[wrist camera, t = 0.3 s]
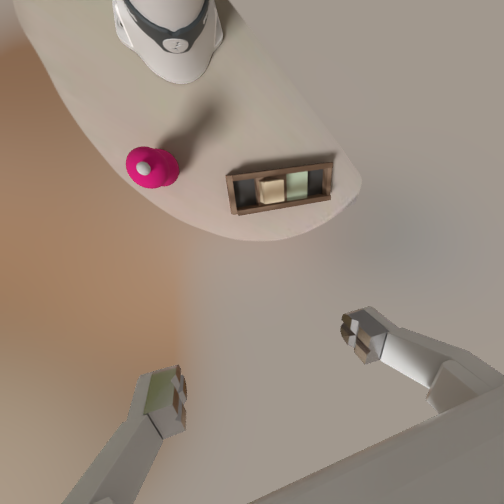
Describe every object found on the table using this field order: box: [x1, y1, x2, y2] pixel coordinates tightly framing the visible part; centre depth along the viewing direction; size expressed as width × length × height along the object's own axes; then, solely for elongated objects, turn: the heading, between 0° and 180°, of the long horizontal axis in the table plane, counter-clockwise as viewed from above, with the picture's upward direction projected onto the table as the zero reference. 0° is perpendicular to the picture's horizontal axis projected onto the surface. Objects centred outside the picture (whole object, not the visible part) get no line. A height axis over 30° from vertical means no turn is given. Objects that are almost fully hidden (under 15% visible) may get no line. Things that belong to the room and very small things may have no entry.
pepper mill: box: [126, 147, 179, 189], centre depth 35 cm, size 7×7×20 cm
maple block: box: [259, 179, 284, 204], centre depth 48 cm, size 5×5×4 cm
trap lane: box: [226, 162, 333, 216], centre depth 51 cm, size 9×28×4 cm, turn 96°
